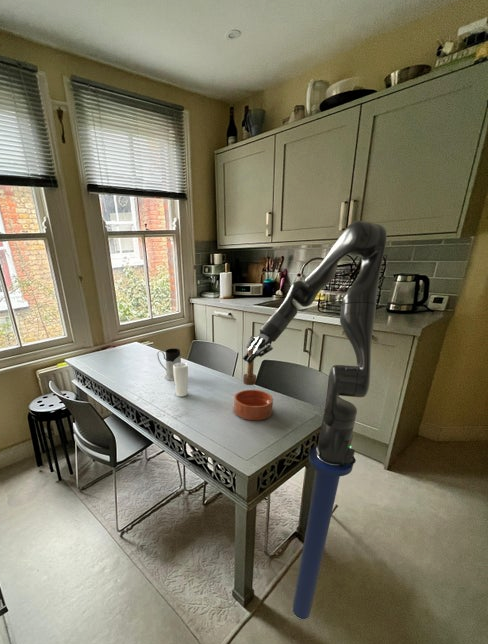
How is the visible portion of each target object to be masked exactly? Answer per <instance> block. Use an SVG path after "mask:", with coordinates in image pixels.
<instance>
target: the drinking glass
mask: <svg viewBox="0 0 488 644" xmlns="http://www.w3.org/2000/svg"><path fill="white" fill-rule="evenodd" d="M173 374H174V381H173V382H174V386H175V395H176V397H185V396H187V395H188V382H189V381H188V380H189V365H188V364H187V363H186V362H181V363H176V364H174V365H173Z"/></svg>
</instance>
